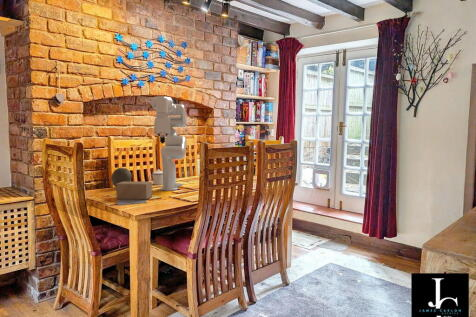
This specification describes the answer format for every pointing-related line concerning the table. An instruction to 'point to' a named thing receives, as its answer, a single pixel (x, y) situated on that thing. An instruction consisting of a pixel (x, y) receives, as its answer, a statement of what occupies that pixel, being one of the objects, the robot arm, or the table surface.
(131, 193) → the wooden block
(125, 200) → the mat
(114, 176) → the dark grey ball
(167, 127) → the robot arm
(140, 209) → the table surface
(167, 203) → the table surface
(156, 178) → the teacup with lid
